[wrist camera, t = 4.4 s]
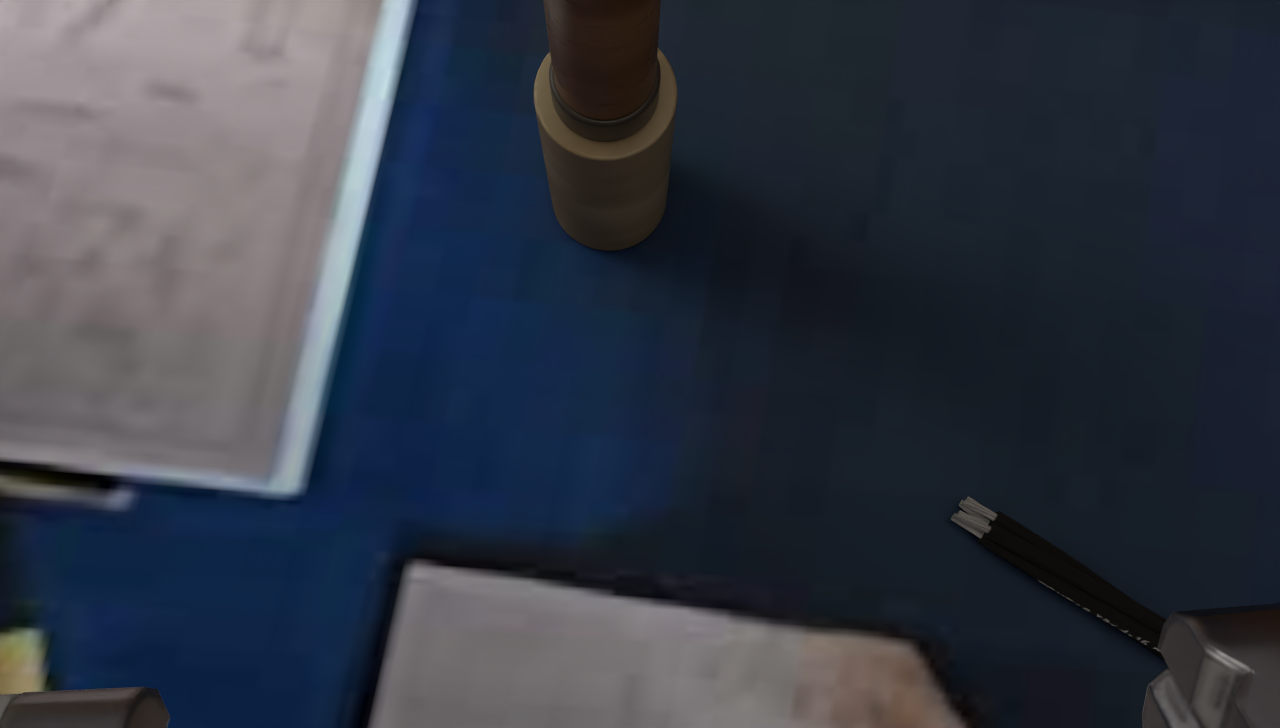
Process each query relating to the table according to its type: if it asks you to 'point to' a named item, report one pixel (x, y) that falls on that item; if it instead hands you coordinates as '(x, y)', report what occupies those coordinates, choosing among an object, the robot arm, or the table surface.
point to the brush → (606, 119)
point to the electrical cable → (1060, 572)
